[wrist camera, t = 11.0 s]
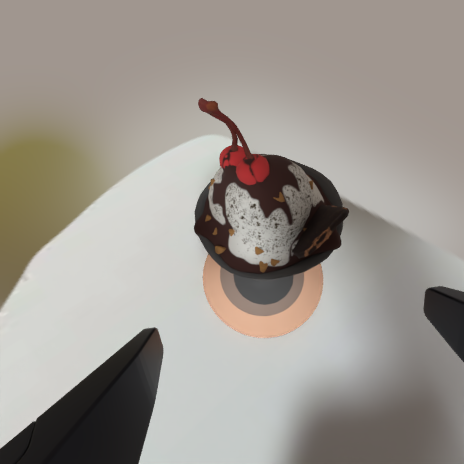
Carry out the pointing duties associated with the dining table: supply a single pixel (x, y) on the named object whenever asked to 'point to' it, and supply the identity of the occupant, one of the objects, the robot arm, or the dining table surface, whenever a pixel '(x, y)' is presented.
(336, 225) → the sundae
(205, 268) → the saucer
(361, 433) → the dining table surface
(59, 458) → the robot arm
